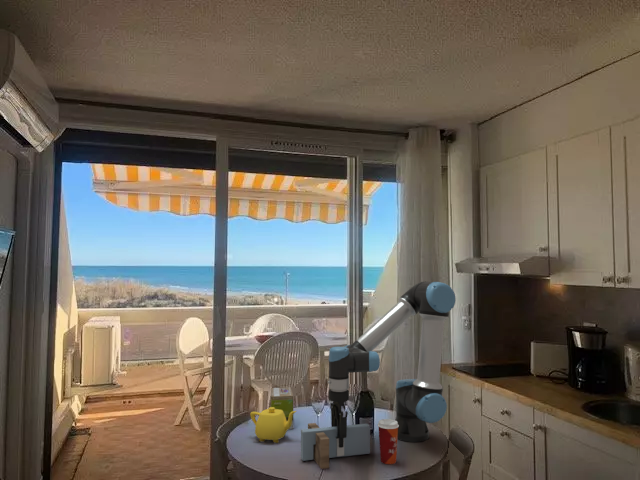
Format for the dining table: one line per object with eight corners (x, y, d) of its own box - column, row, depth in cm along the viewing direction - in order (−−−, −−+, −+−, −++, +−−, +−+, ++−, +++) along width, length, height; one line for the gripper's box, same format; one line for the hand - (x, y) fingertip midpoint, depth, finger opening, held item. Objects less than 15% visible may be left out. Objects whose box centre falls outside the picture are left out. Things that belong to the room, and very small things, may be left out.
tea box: (270, 419, 218) (270, 387, 219) (292, 419, 219) (292, 386, 220) (270, 430, 203) (270, 395, 204) (293, 429, 205) (294, 394, 206)
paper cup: (396, 466, 166) (396, 426, 167) (375, 463, 168) (375, 423, 169) (401, 458, 173) (400, 419, 174) (380, 455, 176) (380, 417, 177)
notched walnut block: (307, 450, 181) (307, 423, 181) (315, 449, 182) (315, 422, 182) (320, 469, 164) (321, 439, 164) (329, 468, 164) (329, 438, 165)
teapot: (292, 446, 184) (292, 414, 185) (244, 442, 189) (244, 410, 190) (300, 435, 198) (301, 405, 198) (255, 431, 202) (256, 401, 203)
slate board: (302, 460, 169) (303, 432, 170) (300, 457, 172) (301, 429, 173) (370, 453, 177) (370, 426, 177) (367, 450, 180) (367, 423, 180)
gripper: (323, 384, 183) (322, 446, 182) (335, 395, 168) (335, 463, 166) (341, 383, 185) (341, 445, 184) (355, 393, 170) (355, 460, 168)
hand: (338, 453), depth 175 cm, fingers closed on slate board, 3 cm apart
